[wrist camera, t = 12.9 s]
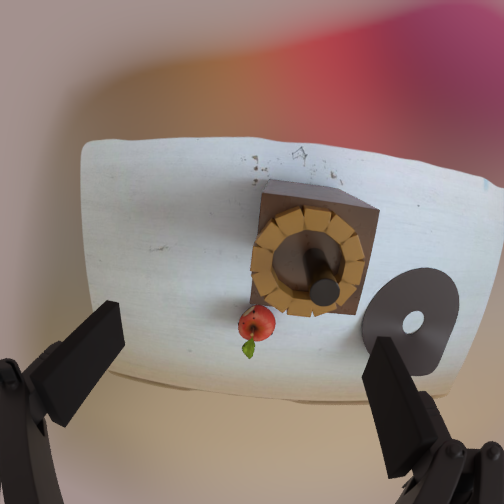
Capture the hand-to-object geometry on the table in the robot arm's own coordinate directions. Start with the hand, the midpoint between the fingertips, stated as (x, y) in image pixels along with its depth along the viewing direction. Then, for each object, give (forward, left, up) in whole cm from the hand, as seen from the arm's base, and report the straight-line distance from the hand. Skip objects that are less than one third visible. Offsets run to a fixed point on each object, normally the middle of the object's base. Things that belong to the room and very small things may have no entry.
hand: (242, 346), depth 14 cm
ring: (+1, +5, -17) cm, 17 cm away
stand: (+1, +5, -39) cm, 39 cm away
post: (+1, +5, -17) cm, 18 cm away
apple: (+21, 0, -39) cm, 44 cm away
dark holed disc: (+17, +34, -39) cm, 54 cm away
